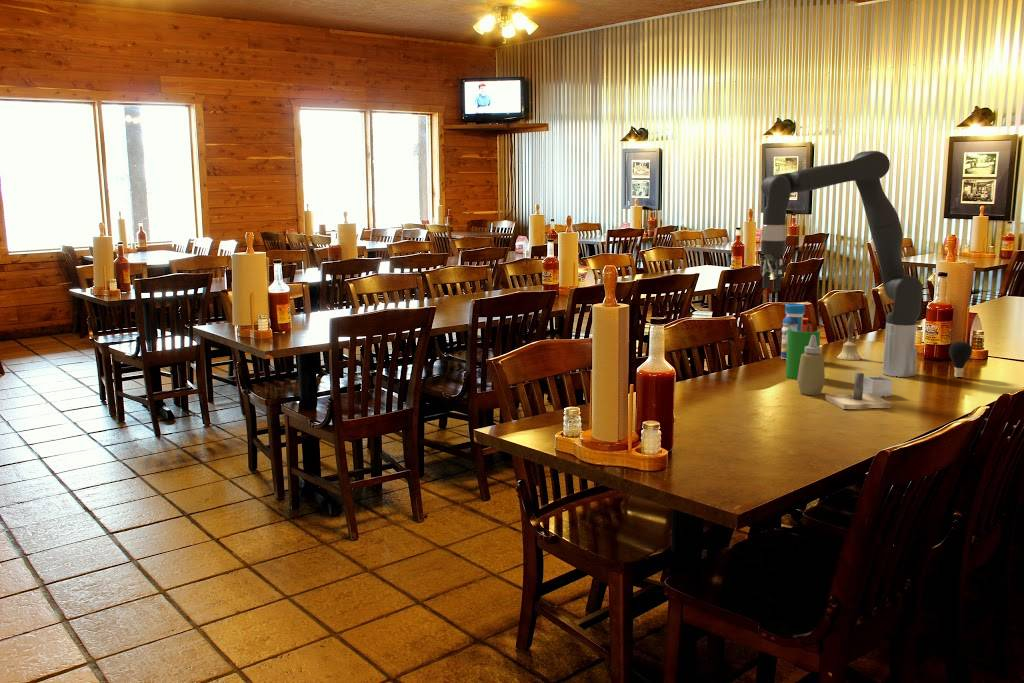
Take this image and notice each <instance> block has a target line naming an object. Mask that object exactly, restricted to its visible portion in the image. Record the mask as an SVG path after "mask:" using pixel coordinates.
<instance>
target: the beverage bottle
mask: <svg viewBox="0 0 1024 683" xmlns="http://www.w3.org/2000/svg"><path fill="white" fill-rule="evenodd" d="M784 308H785V309H784V312H785V317H783V319H782V322H781V323H782V328H781V333H782V334H781V352H780V353H781V354H780V358H781V359H782V358H783V359H786V357H787V336H788V329H791V330H792V331H798V332H801V326H802V318H805V317H804V315H805V313H806V312H805V311H806V305H805V304H803V303H793V302H792V303H786V304H785V307H784ZM783 359H782V360H783Z"/></svg>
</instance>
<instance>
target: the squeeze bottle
mask: <svg viewBox="0 0 1024 683" xmlns="http://www.w3.org/2000/svg"><path fill="white" fill-rule="evenodd" d="M821 351H822V348H821V346H820V347H818V346H817V341H816V335H811V339H810V342H809V346H806V347H805V353H803V354H802V355H801V359H800V366H799V372H798V378H797V379H796V380H797V381H796V382H797V385H798V386H797V387H798V388H799V393H801V394H802V395H806V396H817V395H821V393H822V392H823V389H824V387H825V384H826V378H825V377H826V375H825V360H824V359H825V357H824V355H823V354H822V352H821Z"/></svg>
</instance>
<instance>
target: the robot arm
mask: <svg viewBox="0 0 1024 683" xmlns="http://www.w3.org/2000/svg"><path fill="white" fill-rule="evenodd" d="M890 166H891V161H890V159H889V157H888V155H887V154H885V153H884V152H882V151H879V150H870V151H869V150H866V151H859V153H858V152H857V153H856V154H855V155H854V156H853V158H852V160H849V161H844V162H840V163H832V164H831V163H830V164H825V165H819V166H818V165H817V166H813V167H807V168H802V169H798V170H795V171H792V172H786V173H785V172H784V173H778V174H774V175H769V176H767V177H766V178H764V180H763V181H762V183H761V185H760V186H761V188H760V189H761V192H762V193H763V195H764V196H765V197H767V198H768V200H767V205H766V206H765V207H764V209H763V212H762V228H761V239H760V241H761V242H760V254H761V256H760V265H759V274H760V275H761V277H762V288H763V289H770V287H771V275H772V278H773V280H772V291H773V292H780V291H781V281H782V280H783V279H784V278H785V268H786V266H785V265H786V264H785V263H786V262H785V261H786V259H785V258H781V256H782V255H785V253H786V244H787V242H786V241H787V227H786V225H787V209H788V205H789V202H790V197H791V194H794V193H805V192H809V191H814V190H819V189H823V188H826V187H830V186H834V185H837V184H838V185H839V184H843V183H848V182H855V184H856V187H857V189H858V192H859V195H860V197H861V198H860V199H861V200H862V205H863V209H864V213H865V215H866V219H867V223H868V227H869V228H868V229H869V231H870V232H869V233H870V235H871V239H872V241H873V245H874V248H875V251H876V252H875V253H876V256H877V260H878V262H879V268H880V272H881V279H882V284H883V292H884V293H885V296H886V297H887V298H888V299H889V300H891V301H893V308H892V310H891V312H889V313H887V314H886V318H885V319H886V321H885V333H884V334H885V335H884V348H883V362H882V363H883V365H882V375H885V376H890V377H896V376H897V378H907V377H913V376H916V374H917V359H918V347H917V346H916V339H917V338H916V335H917V326H918V325H917V323H918V322H917V321H918V318H919V317H920V315H921V311H922V310H921V308H922V301H923V285H922V282H921V280H920V279H919V278H918V277H917V276H912V275H909V274H907V273H906V271H905V268H904V264H903V260H902V247H903V241H904V240H903V239H904V238H903V237H904V235H903V233H904V232H903V228H902V224H901V220H900V217H899V214H898V212H897V211H896V208H895V207H894V206H893V204H892V203H891V201H890V199H889V198H888V197H887V195H886V193H885V192H884V189H883V187H882V183H881V179H882V178H884V177H885V176H886V175H887V173H888V172H889V171H890Z"/></svg>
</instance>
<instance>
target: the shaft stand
mask: <svg viewBox="0 0 1024 683" xmlns="http://www.w3.org/2000/svg"><path fill="white" fill-rule="evenodd" d="M864 377H865V373H863V372H855V374H854V382H853V383H854V386H853V393H841V394H825V395H824V396H825V397H824V400H825V399H826V400H825V401H826V402H828V401H829V403H830V402H831V404H832V403H833V404H832V405H834V404H835V405H834V406H836V405H837V406H836V407H838V406H839V407H838V408H840V407H841V408H843V409H858V410H868V409H867V408H889V409H892V407H893V406H892V402H890V401H888V400H886V399H883V397H877V396H875V395H873V394H871V393H866V394H864V393H863V382H864ZM841 408H840V409H841ZM843 409H842V410H843Z"/></svg>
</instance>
